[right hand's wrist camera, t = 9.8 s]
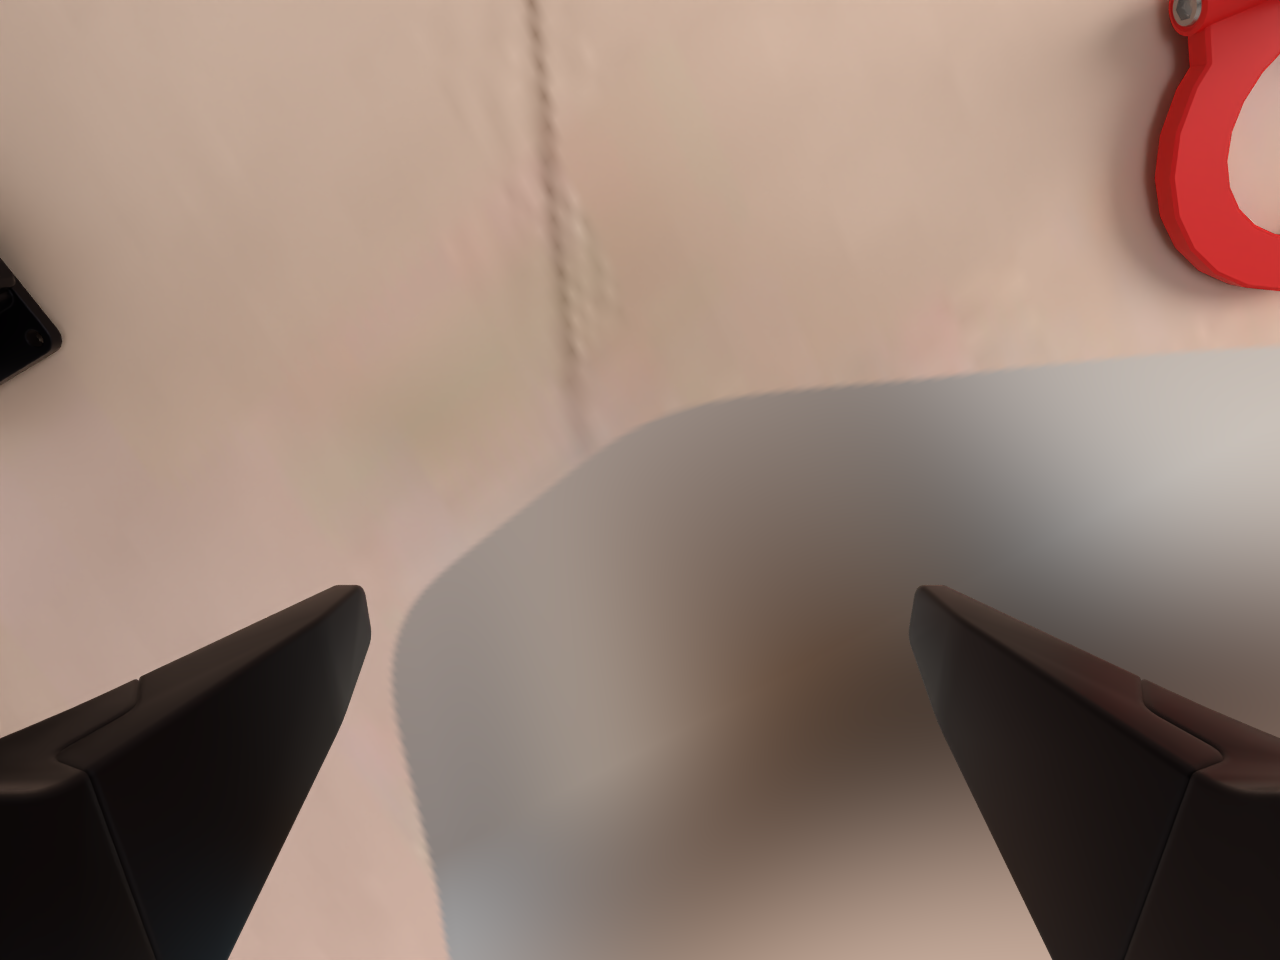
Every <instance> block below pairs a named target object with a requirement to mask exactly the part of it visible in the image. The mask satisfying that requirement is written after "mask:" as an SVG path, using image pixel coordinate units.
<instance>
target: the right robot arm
mask: <svg viewBox="0 0 1280 960" xmlns="http://www.w3.org/2000/svg"><path fill="white" fill-rule="evenodd" d="M36 332H38V333H40V334H41V336H42V338H43V343H41V342H40V341H39V340H38V338H37V336H36ZM61 343H62V339H61V334H60V333H59V331H58V329H57V328H56V327H55V325H54V324H53V323H52V322H51V320H50V319H49V318H48V317H47V315H46V314H45V313H44V312H43V310H42V309H41V308H40V307H39V305H38V304H37V303H36V302H35V301H34V299H33V298H32V297H31V296H30V294H29V293H28V292H27V291H26V289H25V288H24V287H23V286H22V284H21V283H20V282H19V281H18V279H17V278H16V277H15V276H14V274H13V273H12V272H11V271H10V269H9V268H8V267H7V266H6V264H5V263H4V262H3V261H2V260H1V258H0V385H1V384H3V383H4V382H6V381H8V380H9V379H11V378H13V377H14V376H16V375H18V374H19V373H21V372H23V371H24V370H26V369H27V368H29V367H31V366H32V365H34V364H36V363H37V362H39V361H41V360H42V359H44V358H46V357H47V356H49V355H51V354H52V353H54V352H56V351H57V350H58V349H59V348H60V347H61ZM370 640H371V626H370V620H369V614H368V608H367V602H366V596H365V592H364V590H363V588H362V587H361V586H358V585H336V586H333V587H331V588H329V589H327V590H325V591H322V592H320V593H318V594H316V595H314V596H312V597H310V598H308V599H305V600H303V601H301V602H299V603H297V604H295V605H293V606H290V607H288V608H286V609H284V610H282V611H280V612H278V613H276V614H273V615H271V616H269V617H267V618H265V619H263V620H261V621H258V622H256V623H254V624H252V625H250V626H248V627H246V628H244V629H241V630H239V631H237V632H235V633H233V634H231V635H229V636H226V637H224V638H222V639H220V640H218V641H216V642H214V643H212V644H209V645H207V646H205V647H203V648H201V649H199V650H197V651H194V652H192V653H190V654H188V655H186V656H184V657H182V658H180V659H177V660H175V661H173V662H171V663H169V664H167V665H165V666H162V667H160V668H158V669H156V670H154V671H152V672H150V673H148V674H145V675H143V676H141V677H140V679H139V681H138V680H136V679H135V680H132V681H130V682H128V683H126V684H124V685H122V686H120V687H117V688H115V689H113V690H111V691H109V692H107V693H104V694H102V695H100V696H98V697H96V698H93V699H91V700H89V701H87V702H84V703H82V704H80V705H78V706H76V707H73V708H71V709H69V710H66V711H64V712H62V713H59V714H57V715H55V716H52V717H50V718H48V719H45V720H43V721H41V722H38V723H36V724H33V725H31V726H29V727H26V728H24V729H22V730H19V731H17V732H14V733H12V734H9V735H7V736H5V737H2V738H0V960H228V958H229V956H230V954H231V952H232V950H233V948H234V945H235V943H236V941H237V939H238V937H239V935H240V933H241V931H242V929H243V927H244V925H245V923H246V921H247V919H248V917H249V914H250V912H251V910H252V908H253V906H254V904H255V902H256V900H257V898H258V896H259V894H260V892H261V890H262V888H263V886H264V884H265V881H266V879H267V877H268V875H269V873H270V871H271V869H272V867H273V865H274V863H275V861H276V859H277V857H278V855H279V853H280V851H281V848H282V846H283V844H284V842H285V840H286V838H287V836H288V834H289V832H290V830H291V828H292V826H293V824H294V822H295V820H296V818H297V815H298V813H299V811H300V809H301V807H302V805H303V803H304V801H305V799H306V797H307V795H308V793H309V791H310V789H311V787H312V785H313V782H314V780H315V778H316V776H317V774H318V772H319V770H320V768H321V766H322V764H323V762H324V760H325V758H326V756H327V754H328V751H329V749H330V747H331V745H332V743H333V741H334V739H335V737H336V735H337V733H338V731H339V728H340V726H341V724H342V722H343V719H344V716H345V714H346V711H347V708H348V705H349V703H350V700H351V697H352V694H353V691H354V688H355V685H356V682H357V679H358V676H359V674H360V671H361V668H362V665H363V662H364V659H365V656H366V653H367V650H368V647H369V644H370ZM909 640H910V644H911V647H912V650H913V653H914V656H915V659H916V662H917V665H918V668H919V671H920V674H921V676H922V679H923V682H924V685H925V688H926V691H927V694H928V697H929V700H930V703H931V705H932V708H933V711H934V714H935V716H936V719H937V722H938V724H939V726H940V728H941V730H942V733H943V735H944V737H945V739H946V741H947V743H948V745H949V747H950V749H951V751H952V754H953V756H954V758H955V760H956V762H957V764H958V766H959V768H960V770H961V772H962V774H963V776H964V778H965V780H966V782H967V784H968V787H969V789H970V791H971V793H972V795H973V797H974V799H975V801H976V803H977V805H978V807H979V809H980V811H981V813H982V815H983V818H984V820H985V822H986V824H987V826H988V828H989V830H990V832H991V834H992V836H993V838H994V840H995V842H996V844H997V846H998V848H999V850H1000V853H1001V855H1002V857H1003V859H1004V861H1005V863H1006V865H1007V867H1008V869H1009V871H1010V873H1011V875H1012V877H1013V879H1014V881H1015V884H1016V886H1017V888H1018V890H1019V892H1020V894H1021V896H1022V898H1023V900H1024V902H1025V904H1026V906H1027V908H1028V910H1029V912H1030V914H1031V917H1032V919H1033V921H1034V923H1035V925H1036V927H1037V929H1038V931H1039V933H1040V935H1041V937H1042V939H1043V941H1044V943H1045V945H1046V947H1047V950H1048V952H1049V954H1050V956H1051V958H1052V960H1280V738H1278V737H1275V736H1273V735H1271V734H1268V733H1266V732H1263V731H1261V730H1258V729H1256V728H1254V727H1251V726H1249V725H1247V724H1244V723H1242V722H1239V721H1237V720H1235V719H1232V718H1230V717H1228V716H1225V715H1223V714H1221V713H1218V712H1216V711H1214V710H1211V709H1209V708H1206V707H1204V706H1202V705H1200V704H1198V703H1196V702H1193V701H1191V700H1189V699H1187V698H1184V697H1182V696H1180V695H1178V694H1176V693H1173V692H1171V691H1169V690H1167V689H1165V688H1163V687H1160V686H1158V685H1156V684H1154V683H1152V682H1150V681H1148V680H1145V679H1144V680H1142V681H1141V679H1140V677H1139V676H1137V675H1135V674H1132V673H1130V672H1128V671H1126V670H1124V669H1122V668H1120V667H1118V666H1115V665H1113V664H1111V663H1109V662H1107V661H1105V660H1103V659H1100V658H1098V657H1096V656H1094V655H1092V654H1090V653H1088V652H1086V651H1083V650H1081V649H1079V648H1077V647H1075V646H1073V645H1071V644H1068V643H1066V642H1064V641H1062V640H1060V639H1058V638H1056V637H1054V636H1051V635H1049V634H1047V633H1045V632H1043V631H1041V630H1039V629H1036V628H1034V627H1032V626H1030V625H1028V624H1026V623H1024V622H1021V621H1019V620H1017V619H1015V618H1013V617H1011V616H1009V615H1007V614H1004V613H1002V612H1000V611H998V610H996V609H994V608H992V607H990V606H987V605H985V604H983V603H981V602H979V601H977V600H975V599H972V598H970V597H968V596H966V595H964V594H962V593H960V592H958V591H955V590H953V589H951V588H949V587H947V586H944V585H922V586H919V587H918V588H917V590H916V592H915V596H914V602H913V608H912V614H911V620H910V626H909Z"/></svg>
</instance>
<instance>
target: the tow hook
mask: <svg viewBox="0 0 1280 960" xmlns="http://www.w3.org/2000/svg"><path fill="white" fill-rule="evenodd" d="M1169 16H1170V21H1171V23H1172V26H1173V27H1174V29H1175V31H1177V32H1178V33H1179V34H1180V35H1183V36H1188V48H1189V63H1190V67H1189V69H1188V71H1187V72H1186V74H1185V76H1184V77H1183V79H1182V81H1181V82H1180V84H1179V86H1178V87H1177V89H1176V92H1175V94H1174V97H1173V100H1172V103H1171V106H1170V108H1169V111H1168V114H1167V117H1166V120H1165V122H1164V125H1163V128H1162V131H1161V134H1160V139H1159V147H1158V155H1157V163H1156V171H1155V184H1156V191H1157V199H1158V206H1159V213H1160V218H1161V220H1162V222H1163V224H1164V226H1165V228H1166V230H1167V232H1168V234H1169V236H1170V238H1171V240H1172V242H1173V245H1174V247H1175V248H1176V249H1177V250H1178V251H1179V252H1180V253H1181V254H1182V255H1183V256H1184V257H1185V258H1186V259H1187V260H1188V261H1189V262H1190V263H1191V264H1192V265H1193V266H1194V267H1195V268H1196V269H1197V270H1198V271H1201V272H1203V273H1205V274H1207V275H1209V276H1212V277H1214V278H1216V279H1218V280H1221V281H1223V282H1225V283H1227V284H1231V285H1236V286H1241V287H1246V288H1256V289H1265V290H1275V291H1280V235H1277V234H1273V233H1271V232H1269V231H1267V230H1265V229H1263V228H1260V227H1258V226H1256V225H1254V224H1253V223H1252V222H1251V220H1250V219H1249V218H1248V217H1247V216H1246V215H1245V214H1244V213H1243V212H1242V211H1241V210H1240V209H1239V207H1238V205H1237V203H1236V200H1235V198H1234V196H1233V193H1232V191H1231V189H1230V184H1229V174H1228V164H1227V160H1228V153H1229V147H1230V141H1231V135H1232V131H1233V128H1234V126H1235V123H1236V120H1237V118H1238V115H1239V113H1240V110H1241V108H1242V105H1243V103H1244V101H1245V99H1246V98H1247V96H1248V95H1249V93H1250V91H1251V90H1252V88H1253V87H1254V85H1255V84H1256V82H1257V80H1258V79H1259V77H1260V76H1261V74H1262V73H1263V72H1264V70H1265V69H1266V68H1267V67H1268V66H1269V65H1270V64H1271V63H1272V62H1273V61H1274V60H1275V59H1276V58H1277V57H1278V55H1279V54H1280V0H1169Z"/></svg>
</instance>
